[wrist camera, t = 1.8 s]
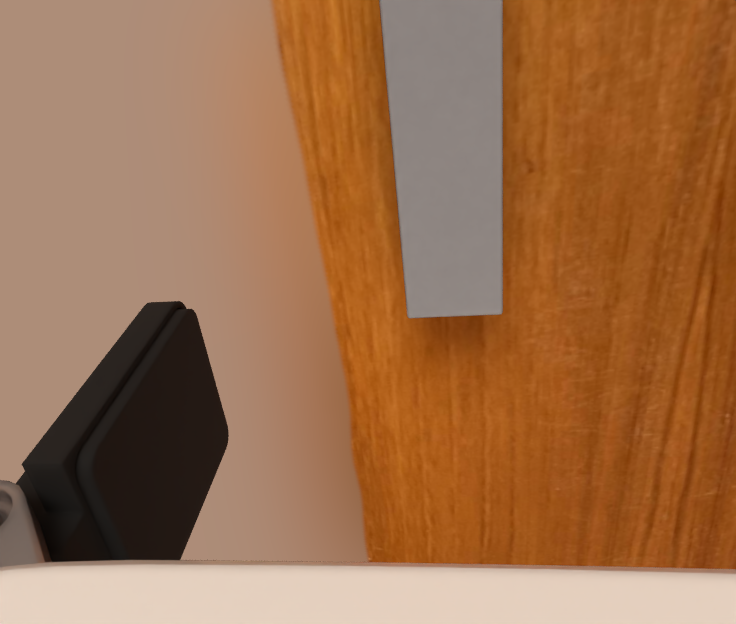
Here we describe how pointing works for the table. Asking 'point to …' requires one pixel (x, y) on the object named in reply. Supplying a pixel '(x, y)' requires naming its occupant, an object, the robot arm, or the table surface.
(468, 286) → the case
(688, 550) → the table surface
